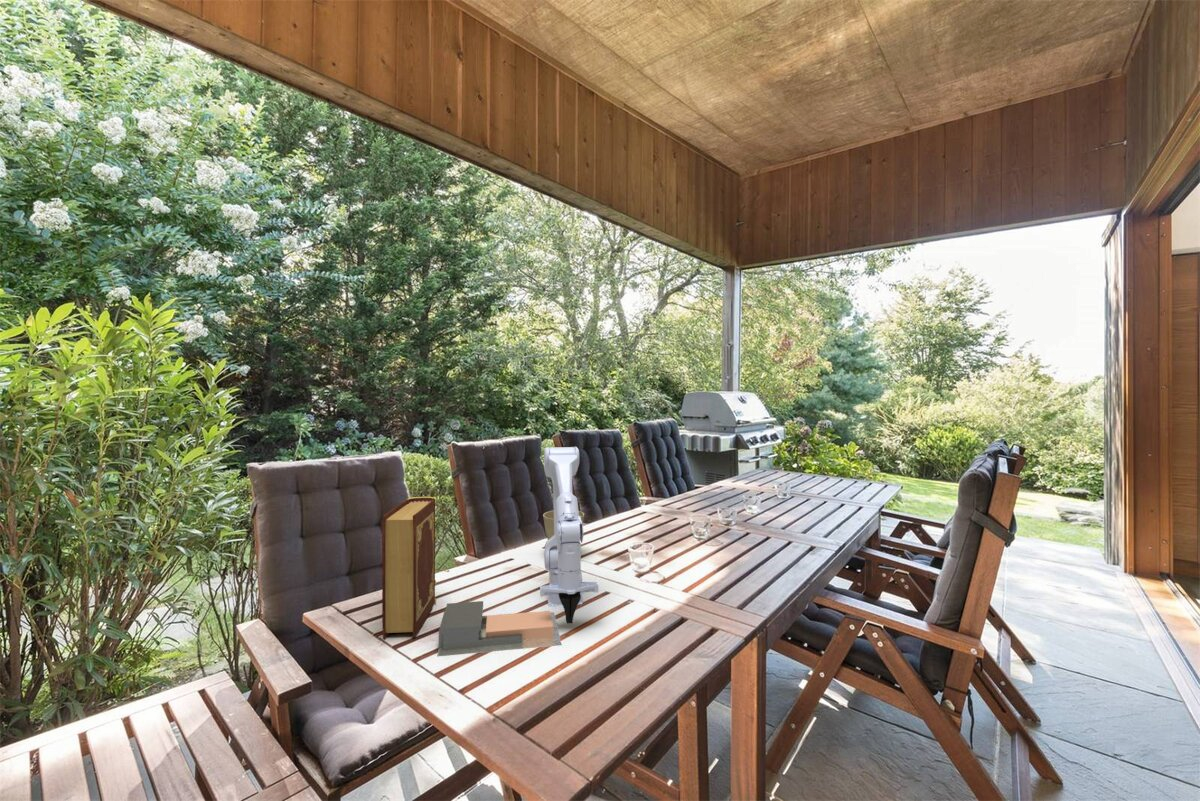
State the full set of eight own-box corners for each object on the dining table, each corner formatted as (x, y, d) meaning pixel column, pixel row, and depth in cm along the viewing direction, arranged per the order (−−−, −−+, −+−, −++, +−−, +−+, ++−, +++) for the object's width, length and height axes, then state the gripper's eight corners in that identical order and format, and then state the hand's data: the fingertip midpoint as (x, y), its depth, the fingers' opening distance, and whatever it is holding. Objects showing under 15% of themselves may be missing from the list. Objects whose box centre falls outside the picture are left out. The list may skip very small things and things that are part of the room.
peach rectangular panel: (550, 620, 130) (550, 610, 130) (553, 636, 121) (553, 626, 121) (486, 625, 127) (487, 615, 127) (485, 642, 118) (485, 632, 118)
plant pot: (543, 552, 188) (543, 509, 187) (582, 551, 189) (582, 509, 189) (542, 565, 173) (543, 519, 173) (585, 564, 174) (585, 518, 174)
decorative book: (409, 601, 142) (409, 496, 142) (437, 601, 143) (438, 496, 142) (381, 640, 120) (381, 515, 119) (415, 639, 120) (415, 515, 120)
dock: (554, 614, 134) (554, 592, 134) (561, 647, 117) (561, 622, 117) (445, 622, 129) (445, 600, 129) (436, 659, 111) (436, 633, 111)
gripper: (541, 575, 121) (541, 631, 121) (600, 571, 123) (600, 626, 123) (539, 565, 127) (539, 618, 128) (595, 562, 130) (595, 614, 130)
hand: (569, 621), depth 126 cm, fingers closed
